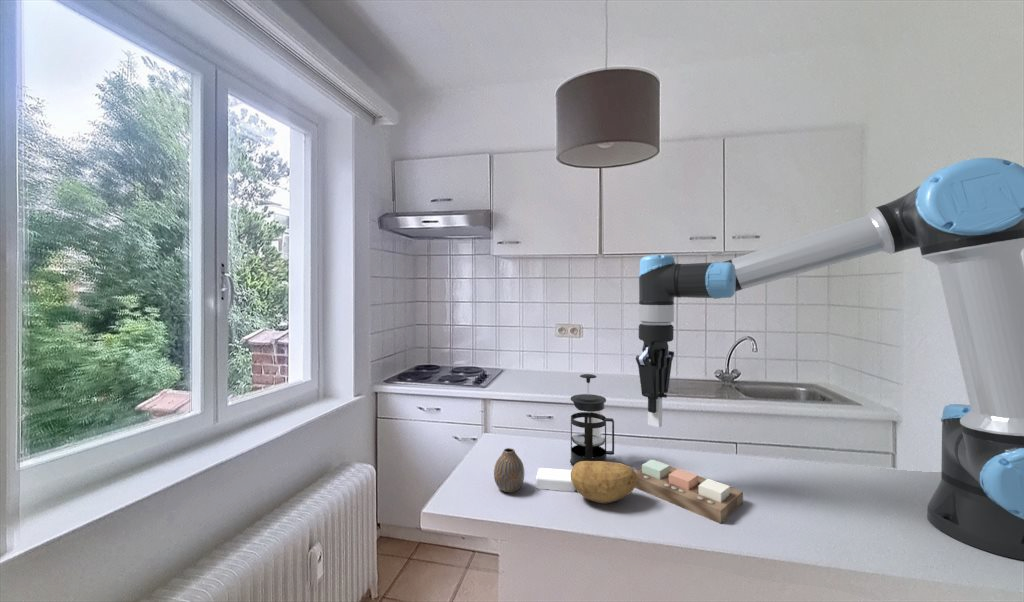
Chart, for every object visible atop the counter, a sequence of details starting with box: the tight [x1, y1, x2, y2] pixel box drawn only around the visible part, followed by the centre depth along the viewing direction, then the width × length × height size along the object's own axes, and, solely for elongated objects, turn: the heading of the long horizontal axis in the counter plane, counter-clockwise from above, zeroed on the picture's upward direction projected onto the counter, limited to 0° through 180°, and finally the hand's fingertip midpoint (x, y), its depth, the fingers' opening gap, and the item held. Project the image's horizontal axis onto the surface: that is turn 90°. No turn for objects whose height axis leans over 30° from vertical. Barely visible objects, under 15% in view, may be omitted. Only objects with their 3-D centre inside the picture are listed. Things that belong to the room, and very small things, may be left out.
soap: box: [535, 467, 577, 493], centre depth 91 cm, size 9×6×3 cm, turn 79°
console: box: [634, 465, 744, 524], centre depth 87 cm, size 20×11×3 cm, turn 41°
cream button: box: [699, 478, 731, 503], centre depth 82 cm, size 4×4×3 cm
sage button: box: [641, 459, 671, 479], centre depth 92 cm, size 4×4×3 cm
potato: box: [571, 461, 638, 505], centre depth 85 cm, size 10×14×8 cm
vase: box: [493, 447, 525, 493], centre depth 90 cm, size 7×7×9 cm
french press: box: [569, 373, 615, 467], centre depth 102 cm, size 12×9×23 cm
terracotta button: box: [669, 468, 699, 490], centre depth 87 cm, size 4×4×3 cm
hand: (654, 425), depth 92 cm, fingers closed
